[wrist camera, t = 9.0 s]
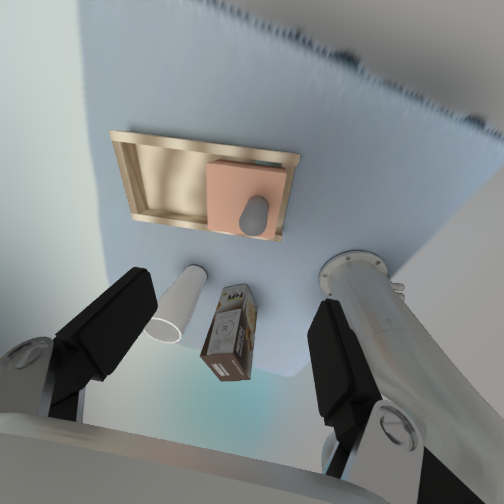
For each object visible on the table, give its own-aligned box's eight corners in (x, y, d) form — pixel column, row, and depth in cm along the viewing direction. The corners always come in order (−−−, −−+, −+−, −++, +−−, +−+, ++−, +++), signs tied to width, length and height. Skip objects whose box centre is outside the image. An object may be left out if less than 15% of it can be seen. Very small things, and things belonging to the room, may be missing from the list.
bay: (297, 153, 26) (300, 155, 23) (280, 232, 33) (280, 242, 30) (129, 131, 27) (109, 130, 24) (147, 212, 34) (133, 219, 31)
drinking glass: (176, 267, 41) (131, 322, 28) (199, 257, 39) (162, 313, 26) (193, 287, 44) (160, 346, 31) (216, 279, 42) (190, 340, 29)
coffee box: (222, 287, 43) (197, 355, 29) (246, 283, 41) (232, 352, 27) (236, 313, 47) (220, 382, 33) (259, 309, 45) (251, 381, 32)
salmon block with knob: (284, 167, 27) (290, 183, 16) (274, 223, 31) (273, 262, 21) (219, 158, 27) (184, 169, 17) (218, 215, 32) (191, 249, 22)
